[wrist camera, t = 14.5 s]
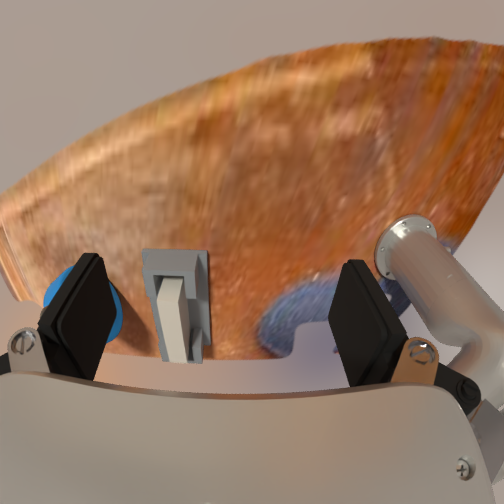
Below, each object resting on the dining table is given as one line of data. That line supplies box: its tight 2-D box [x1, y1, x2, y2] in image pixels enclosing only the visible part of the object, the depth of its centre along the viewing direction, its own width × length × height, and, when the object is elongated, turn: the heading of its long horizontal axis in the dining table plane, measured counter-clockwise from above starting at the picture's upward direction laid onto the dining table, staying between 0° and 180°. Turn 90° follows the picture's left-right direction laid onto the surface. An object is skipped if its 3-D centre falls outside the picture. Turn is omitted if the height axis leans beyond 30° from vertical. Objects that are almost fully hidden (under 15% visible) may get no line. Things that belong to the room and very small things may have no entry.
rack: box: [142, 249, 211, 364], centre depth 45 cm, size 10×21×6 cm, turn 177°
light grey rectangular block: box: [157, 275, 191, 363], centre depth 44 cm, size 3×14×7 cm, turn 177°
